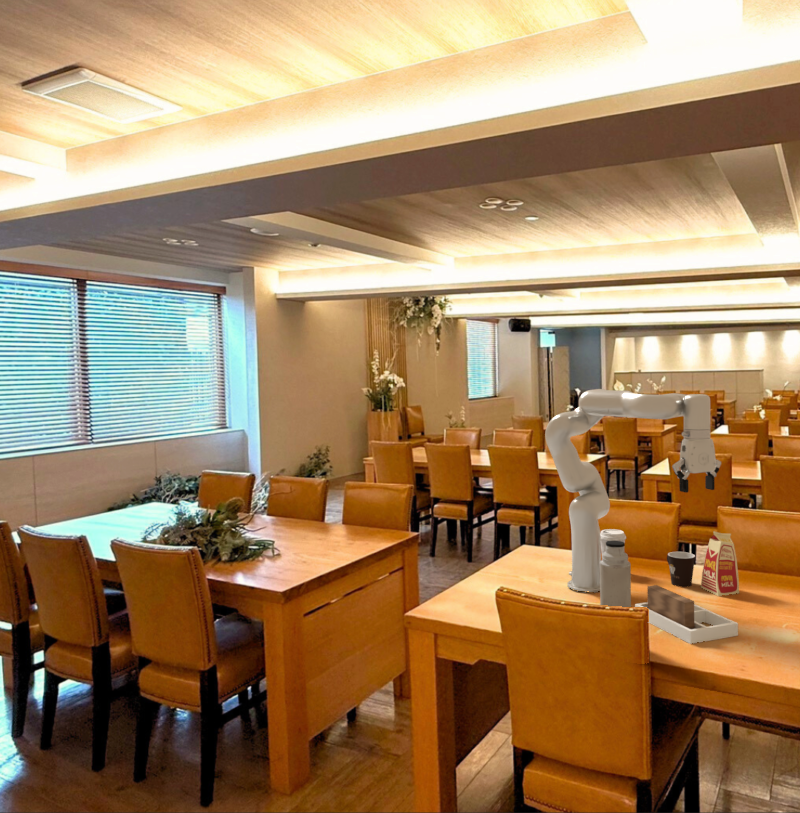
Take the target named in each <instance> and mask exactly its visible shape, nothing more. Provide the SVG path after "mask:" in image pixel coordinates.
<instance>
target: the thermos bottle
mask: <svg viewBox="0 0 800 813" xmlns="http://www.w3.org/2000/svg"><path fill="white" fill-rule="evenodd" d="M625 544H626V542H625V543H624V542H622V541H607V542H606V552H604V553H603V556H602V555H601V561H600V592H599V593H600V594H599V598H600V599H599V600H600V602H599V605H608V606H622V607H631V608H632V597H631V596H632V595H631V594H632V592H631V591H632V589H631V588H632V584H631V583H632V582H631V581H632V580H631V579H632V578H631V577H632V574H631V573H632V571H631V569H632V568H631V566H632V565H631V562H630V561H629V556H628V554H627V553H626V552H625ZM602 559H603V560H602Z"/></svg>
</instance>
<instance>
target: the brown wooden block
mask: <svg viewBox="0 0 800 813" xmlns="http://www.w3.org/2000/svg"><path fill="white" fill-rule="evenodd" d="M647 602H648V609H650V610H652V611H654V612H656V613H658V614H660V615H662V616H664V617H666V618H668V619H670V620H672V621H674V622H676V623H679V624H681V625H683V626H685V627H687V628H689V629H693V628H694V604H695V601H694V600H692V599H690V598H689V597H688V598H687V597H685V596H683V595H680V594H679V593H676V592H673V591H671V590H670V589H667V588H664V587H662V586H660V585H658V584H654V585H647Z"/></svg>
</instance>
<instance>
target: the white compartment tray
mask: <svg viewBox="0 0 800 813" xmlns="http://www.w3.org/2000/svg"><path fill="white" fill-rule="evenodd" d="M635 607H647V608H648V601H647V602H640V603H635V604H634V608H635ZM702 622H704V623H706V624H708V625H709V626H708V625H707V626H706V625H705V624H702ZM648 623H649V624H651V625H653V626H655V627H656V628H658V629H660V630H663V631H664V632H666V633H668V634H670V633H671V634H670V635H672V634H673V635H672V636H674V637H675V638H677V639H679V640H682V641H683V642H685V643H687V644H689V645H692V643H693V644H698V643H697V642H699V643H702V642H703V641H705V642H708V641H717V640H721V639H726V638H732V637H737V636H739V623H738V622H736V621H734V620H732V619H729V618H728V617H725V616H723V615H721V614H718V613H716V612H713V611H712V610H709V609H707V608H704V607H702V606H699V605H697V604H696V603H694V628H693V629H689V628H687V627H685V626H683V625H681V624H679V623H676V622H674V621H672V620H670V619H668V618H666V617H664V616H662V615H660V614H658V613H656V612H654V611H652V610H650V609H649V622H648ZM710 624H711V625H710ZM712 625H713V626H712ZM703 643H704V642H703Z"/></svg>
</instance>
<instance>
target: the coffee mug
mask: <svg viewBox="0 0 800 813" xmlns="http://www.w3.org/2000/svg"><path fill="white" fill-rule="evenodd" d="M695 559H696V555H695V554H693V553H691V552H686V551H672V552H668V553H667V555H666V561H667V563H668V564H667V565H668V566H669V574H670V582H671V585H673V586H675V585H676V586H675V587H679V586H682V588H687V586H688V587H691V586H692V584H693V578H694V577H693V575H694V568H695Z"/></svg>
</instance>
